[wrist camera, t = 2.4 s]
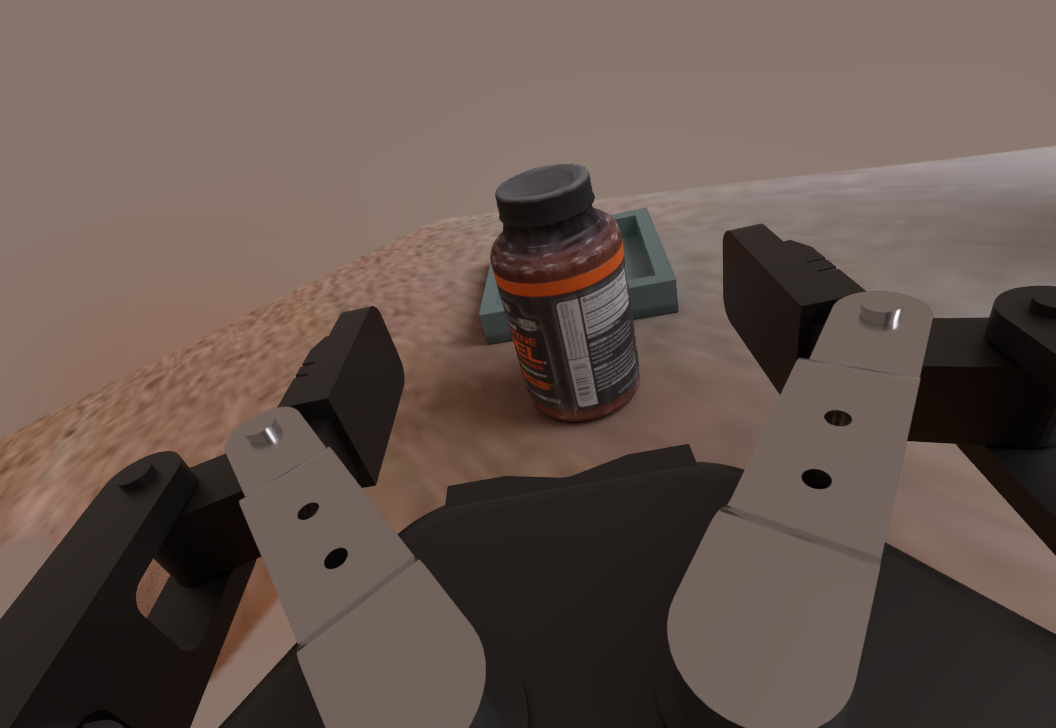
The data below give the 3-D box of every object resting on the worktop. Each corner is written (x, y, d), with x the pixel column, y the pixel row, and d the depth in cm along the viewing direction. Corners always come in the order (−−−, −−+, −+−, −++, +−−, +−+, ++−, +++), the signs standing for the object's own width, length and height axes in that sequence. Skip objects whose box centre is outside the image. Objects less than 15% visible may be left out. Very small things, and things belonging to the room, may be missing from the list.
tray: (649, 234, 42) (646, 207, 41) (678, 311, 32) (675, 279, 31) (502, 263, 44) (495, 238, 42) (488, 344, 34) (478, 315, 33)
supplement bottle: (511, 388, 30) (449, 191, 23) (598, 343, 31) (562, 147, 25) (568, 446, 25) (510, 220, 19) (666, 389, 27) (643, 163, 20)
